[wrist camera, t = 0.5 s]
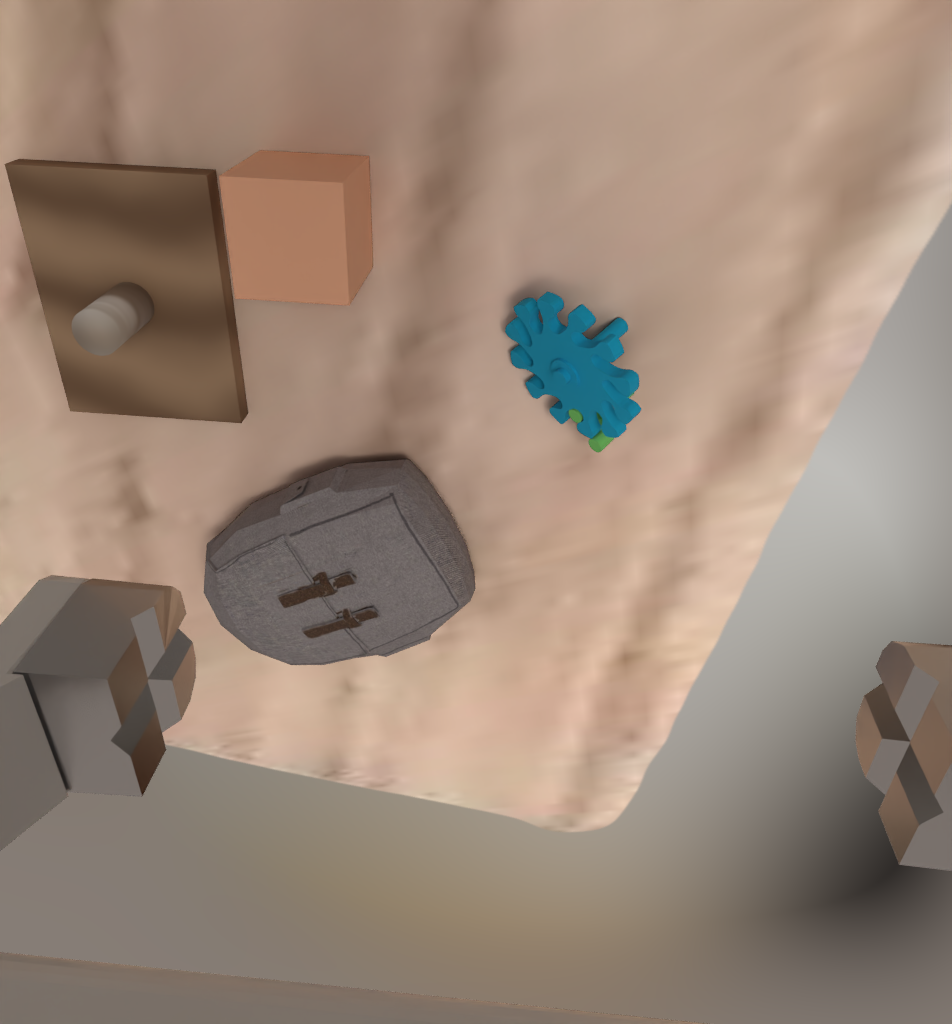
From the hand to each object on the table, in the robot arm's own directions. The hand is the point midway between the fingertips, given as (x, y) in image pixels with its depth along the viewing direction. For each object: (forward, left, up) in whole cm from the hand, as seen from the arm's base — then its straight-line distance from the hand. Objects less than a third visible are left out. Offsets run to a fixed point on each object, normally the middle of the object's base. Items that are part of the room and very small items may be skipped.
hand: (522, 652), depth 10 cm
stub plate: (+12, -25, -43) cm, 52 cm away
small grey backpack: (+31, -14, -44) cm, 55 cm away
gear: (+14, +3, -44) cm, 46 cm away
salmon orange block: (+6, -13, -43) cm, 46 cm away
